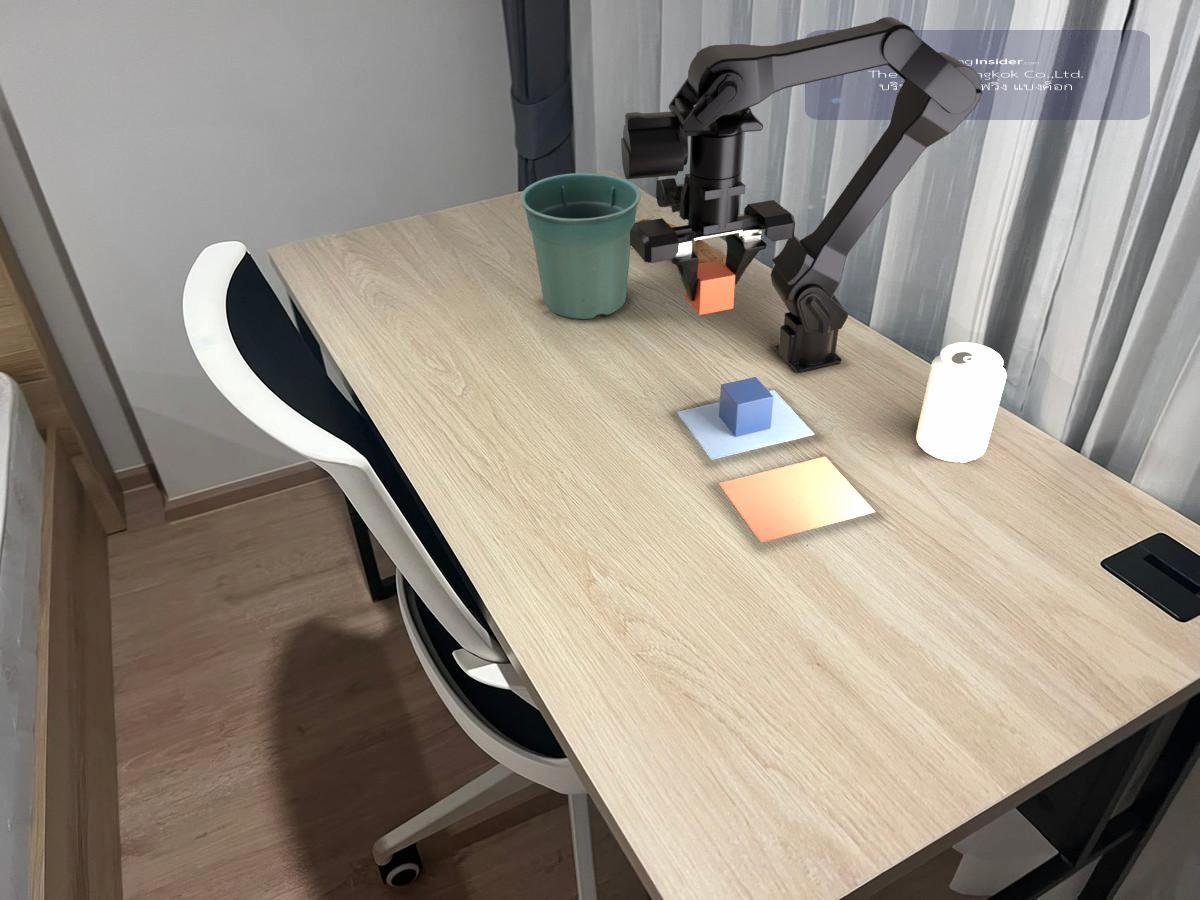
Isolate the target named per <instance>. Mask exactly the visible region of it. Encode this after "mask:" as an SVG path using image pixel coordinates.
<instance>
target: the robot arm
mask: <svg viewBox="0 0 1200 900" xmlns="http://www.w3.org/2000/svg"><path fill="white" fill-rule="evenodd" d="M884 66H888V67H889V68H890V69H891V70H892V71H893V72H894V73H895V74H897V75H898V76H899V77H900V78H901V79H902V80H904V81H903V83H902V84H901V86H900V89H899V91H898V92H897V94H896V96H895V101H894V106H893V110H892V114H891V118H890V122H889V124H888V127H887V128H886V129H885V131H884V132H883V134H882V135H881V137H880V138H879V139H878V141H877V142H876V144H874V146H873V148H872V150H870V152H869V153H868V155H867V157H865V159H864V161H862V164H861V165H860V166H859V168H858V169H857V171H856V172H855V174H854V175H853V176H852V178H851V179H850V181H849V182H848V184H847V185H846V186H845V188H844V189H843V191H842V192H841V193H840V195H839V196H838V198H837V199H836V201H835V202H834V203H833V205H832V206H831V208H830V209H829V210H828V212H827V213H826V215H825V216H824V218H823V219H822V221H821V222H820V223H819V225H818V226H817V228H816V229H815V230H814V231H813V232H812V233H810V234H808V235H807V236H805V237H803V238H801V239H799V238H798V237H797V236H796V235H795V232H796V231H795V229H796V220H795V217H794V215H793V214H792V213H791V212H789V210H787V209H786V208H784V207H783V206H782V205H781V204H779V203H778V202H777V201H776V200H774V199H772V200H765V201H758V202H751V203H747V205H746V206H745V207H744V209H743V213H742V214H739V211H740V210H739V208H740V195H741V196H742V195H746V184H744V183H743V182H742V181H741V178H742V177H741V176H742V163H743V162H742V161H743V160H742V159H743V157H742V156H743V146H744V145H743V142H744V133H749V132H751V133H752V132H761V131H763V130H764V125H763V123H762V122H761V121H760V120H759V119H758V118H757V116H756V115H755V114H754V113H753V112H752V109H751V108H752V107H754V106H756V105H760V104H761V103H762V102H763V101H765V100H766V99H767V98H769V97H770V96H772V95H773V94H775V93H777V92H779V91H783V90H784V89H788V88H792V87H796V86H801V85H805V84H810V83H814V82H818V81H823V80H827V79H833V78H835V77H836V78H837V77H839V76H845V75H849V74H853V73H857V72H862V71H867V70H871V69H875V68H879V67H884ZM982 95H983V91H982V79H981V77H980V74H979V73H978V72H977V71H976V69H974V68H973V67H971V66H969V65H967V64H965V63H964V62H962V61H960V60H959V59H957V58H955V57H953V56H951V55H949V54H947V53H945V52H937V50H936V49H934V48H933V47H931V45H928V44H927V42H925V41H924V40H923V39H921V38H920V37H919V36H918V35H917V34H916V33H915V30H913V28H912V27H911V26H910V25H908V24H906V23H904V22H902V21H901V20H899V19H897V18H894V17H891V16H886V17H885V16H884V17H881V18H879V19H877V20H875V21H873V22H870V23H865V24H861V25H855V26H852V27H848V28H843V29H839V30H834V31H831V32H826V33H822V34H817V35H812V36H808V37H804V38H801V39H796V40H791V41H787V42H783V43H779V44H778V43H777V44H773V45H772V44H771V45H758V44H757V45H756V44H744V43H737V44H736V43H734V44H731V43H730V44H713V45H709V46H706V47H704V48H701V49H700V50H699V51H698V52H696V55H695V56H694V57H693V58H692V60H691V62H690V63H689V67H688V70H687V78H686V79H685V81H684V82H683V84H682V85H681V87H680V88H679V90H677V92H676V94H675V95H674V97H673V98H672V100H670V102H669V104H668V109H669V111H661V112H660V111H659V112H648V113H645V112H644V113H643V112H637V111H636V112H633V111H632V112H626V113H625V115H624V124H623V130H622V131H623V132H622V137H621V138H620V145H621V146H620V147H621V162H622V168H623V174H624V177H625V178H624V179H626V180H636V179H650V178H662V177H669V178H662V179H657V180H656V190H655V196H656V203H657V206H658V207H659V208H668V207H671V213H676V212H679V217H680V218H681V220H682V221H685V220H687V221H688V222H687V224H686V225H679V226H678V227H673V228H671V227H670V226H669V225H668V224H667V223H668V222H667V221H666V220H665V219H664V218H663V217H660V218H655V219H647V220H648V221H642V222H639V221H635V224H634V225H633V227H632V229H631V230H630V245H631V247H632V249H633V250H634V251H635V252H636V253H637V254H638V256H639V257H640V258H641V260H643V262H644V263H648V264H654V263H659V262H665V261H670V262H671V263H672V264H674V265H676V267H677V270H678V272H679V276H680V279H681V282H682V284H683V287H684V289H685V292H686V293H687V296H688V298H689V299H690V301H694V299H695V295H696V289H697V273H698V257H697V256H696V255H695V253H694V252H693V251H692V243H693V241H699V240H702V241H704V240H709V239H715V238H722V237H725V244H726V255H725V257H726V266H727V267H728V268H729V269H730V270H731V271H732V272H733V273H734V274H735V287H736V286H737V285H738V283H739V281H740V280H741V278H742V277H743V274H744V273H745V271H746V270H747V268H748V267H749V265H750V264H751V263H752V262H753V260H754V258H755V257H757V255H758V254H759V252H760V251H762V250H766V248H767V243H766V242H765V241H764V240H763V239H762V235H763V234H764V236H765V237H766V238H767V239H768V240H770V242H779V241H784V240H785V241H786V243H785V244H784V246H783V249H782V250H781V251H780V252H779V254H778V255H776V256H775V257H774V258H773V259H772V263H773V264H774V265H773V267H772V269H771V272H770V277H771V285H772V286H773V288H774V289H775V292H776V293H777V294H778V296H779V298H780V299H781V301H782V302H783V304H784V306H785V307H786V309H787V310H788V312H784V317H783V318H784V319H783V324H782V325H781V326H780V329H779V339H778V344H777V345H775V346H774V351H775V352H776V353H777V354H778V355H779V356H780V357H781V358H782V359H783V360H784V361H785V362H786V363H787V364H788V365H789V366H790V367H791V368H792V370H794V371H795V372H796V373H799V374H800V373H804V372H810V371H814V370H819V369H822V368H827V367H832V366H836V365H840V364H842V358H841V357H840V355H838V354H837V353H836V351H837V345H838V337H839V332H840V331H839V330H841V329H842V328H843V326H844V325H845V323H846V321H847V319H848V317H849V313H848V312H847V310H846V309H845V308H844V306H843V305H842V304H841V302H840V301H839V300H838V298H837V297H836V296H835V293H836V291H837V290H838V287H839V286H840V284H841V281H842V277H843V273H844V270H845V265H846V261H847V257H848V255H849V253H850V252H851V251H852V250H853V248H854V246H855V245H856V244H857V242H858V241H859V240H860V238H861V237H862V235H863V234H864V233H865V232H866V230H868V228H869V226H870V225H871V223H872V222H873V220H874V219H875V218H876V217H877V215H878V214H879V213H880V212H881V209H882V208H883V207H884V205H886V203H887V201H888V200H889V199H890V197H891V196H892V195H893V194H894V192H895V191H896V189H897V187H898V186H899V185H900V183H902V181H903V180H904V178H905V177H906V175H907V174H908V173H909V172H910V170H911V169H912V167H913V166H914V164H915V163H916V162H917V161H918V159H919V158H920V156H921V155H922V154H923V152H925V150H926V149H927V148H929V147H930V146H932V145H934V144H935V143H937V142H939V141H940V140H942V139H943V138H945V137H947V136H949V135H950V134H951V133H953V132H954V131H955V130H956V129H957V128H958V127H959V126H960V125H961V123H963V122H964V121H965V119H966V118H967V117H968V116H969V115H970V114H972V112H973V111H974V110H975V108H976V107H977V105H978V104H979V102H980V101H981V98H982ZM689 137H690V142H689ZM689 143H690V144H689ZM689 145H690V147H689ZM688 161H689V173H685V177H684V180H683V183H679V184H678V183H677V182H676V178H674V177H673V176H675V177H676V176H677V175H678V174H679V172H683V171H684V169H685V166H687V164H688ZM670 177H671V178H670ZM763 230H764V233H763Z"/></svg>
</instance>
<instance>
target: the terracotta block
mask: <svg viewBox="0 0 1200 900" xmlns="http://www.w3.org/2000/svg"><path fill="white" fill-rule="evenodd" d="M735 288H736V286H735V274H734V273H733V272H732V271H731V270H730V269H729V268H728V267H727V266H726V265H725V264H724V263H723V262H722V261H721V260H717V261H711V262H705V263H700V264H698V273H697V289H696V295H695V299H694V301H690V299H689V298H688V296H687V293H686V291H684V292H685V295H684V299H685V301H686V302H687V303H688V304H689V305H690V307H692V309H694V311H695V312H696V313H697V314H698V315H699V316H702V315H708V314H712V313H717V312H723V311H727V310H732V309H734V301H735V300H734V299H735Z"/></svg>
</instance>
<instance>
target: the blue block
mask: <svg viewBox="0 0 1200 900" xmlns="http://www.w3.org/2000/svg"><path fill="white" fill-rule="evenodd" d="M769 391H770V390H768V389H767V388H766V386H765V385H764V384H763V383H762V382H761V381H760V380H759V379H758V377H756V376H754V377H749V378H745V379H740V380H735V381H731V382H727V383H721V384H720V391H719V402H720V407H719V417H720V418H721V419H722V421H723V422H724V423H725V425H726V426H727V427H728V428H729V430H730V431H731V432H732V433H733V435H734V436H735V437H738V436H742V435H746V434H751V433H755V432H759V431H763V430H767V429H770V428H771V419H772V408H773V398H774V397H773V395H772V394H771V393H770V392H769Z"/></svg>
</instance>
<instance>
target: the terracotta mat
mask: <svg viewBox="0 0 1200 900" xmlns="http://www.w3.org/2000/svg"><path fill="white" fill-rule="evenodd" d="M717 484H718V485H719V487H720V488H721V489H722V491H723V493H724V494H725V495H726V497H727V498H728V499H729V501H730V503H731V504H732V505H733V506H734V508H735V509H736V511H737V512H738V513H739V515H740V517H741V518H742V519H743V520H744V522H745V524H746V525H747V526H748V527H749V529H750V530H751V532H752V534H753V535H754V536H755V537H756V539H757V540H758V542H759V543H760V544H763V543H765V542H769V541H773V540H778V539H781V538H784V537H787V536H792V535H796V534H800V533H803V532H807V531H810V530H814V529H818V528H821V527H825V526H829V525H832V524H836V523H839V522H844V521H847V520H851V519H856V518H858V517H863V516H866V515H869V514H872V513H876V511H875V509H874V508H872V506H871V505H870V504H869V503H868V502H867V501H866V500H865V498H864V497H862V495H861V494H860V493H859V492H858V491H857V489H855V487H853V485H852V484H851V483H850V482H849V481H848V479H847V478H846V477H845V476H844V475H843V474H842V473H841V472H840V471H839V469H838V468H837V467H836V466H835V465H834V464H833V463H832V462H831V460H830V459H829V458H828V457H827V456H825V455H824V456H821V457H816V458H813V459H809V460H805V461H802V462H801V461H800V462H797V463H793V464H789V465H784V466H781V467H777V468H773V469H768V470H764V471H762V472H757V473H753V474H749V475H744V476H742V477H741V476H740V477H737V478H734V479H729V480H724V481H720V482H718V483H717Z"/></svg>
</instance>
